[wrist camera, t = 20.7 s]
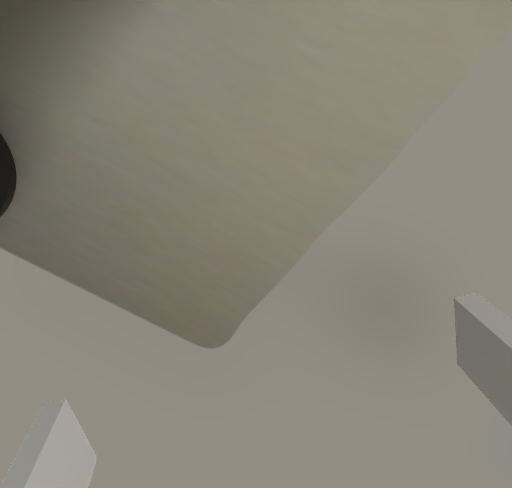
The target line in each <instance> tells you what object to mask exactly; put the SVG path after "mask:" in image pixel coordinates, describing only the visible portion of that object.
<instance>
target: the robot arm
mask: <svg viewBox="0 0 512 488" xmlns="http://www.w3.org/2000/svg"><path fill="white" fill-rule="evenodd" d="M15 188H16V169H15V164H14V160H13V157H12V154H11V152H10V149H9V147H8V145H7V143H6V142H5V140H4V138H3V137H2V135H1V134H0V216H1V215H2V214H3V213H4V212H5V211H6V209H7V208H8V207H9V205H10V203H11V201H12V199H13V196H14V192H15ZM454 308H455V327H456V346H457V364H458V365H459V366H460V367H461V369H462V370H463V371H464V372H465V373H466V374H467V375H468V377H469V378H470V379H471V380H472V381H473V382H474V383H475V385H476V386H477V387H478V388H479V389H480V390H481V391H482V393H483V394H484V395H485V396H486V397H487V398H488V399H489V401H490V402H491V403H492V404H493V405H494V406H495V407H496V408H497V410H498V411H499V412H500V413H501V414H502V415H503V416H504V418H505V419H506V420H507V421H508V422H509V423H510V424H511V425H512V320H511V319H510V318H509V317H507V316H506V315H505V314H503V313H502V312H501V311H500V310H498V309H497V308H496V307H494V306H493V305H492V304H491V303H489V302H488V301H487V300H485V299H484V298H483V297H482V296H480V295H479V294H478V293H477V292H476V293H472V294H468V295H464V296H460V297H456V298H454ZM96 460H97V456H96V455H95V453H94V451H93V449H92V447H91V445H90V443H89V441H88V440H87V438H86V436H85V434H84V432H83V430H82V428H81V427H80V425H79V423H78V421H77V419H76V417H75V415H74V414H73V412H72V410H71V408H70V406H69V404H68V402H67V401H66V399H63V400H59V401H56V402H52V403H48V404H44V405H42V407H41V409H40V411H39V413H38V415H37V417H36V419H35V420H34V422H33V424H32V426H31V428H30V430H29V432H28V434H27V436H26V438H25V439H24V441H23V443H22V445H21V447H20V449H19V451H18V453H17V455H16V456H15V459H14V460H13V462H12V464H11V466H10V468H9V470H8V472H7V474H6V476H5V477H4V480H3V481H2V483H1V485H0V488H88V487H89V484H90V480H91V477H92V474H93V470H94V467H95V464H96Z"/></svg>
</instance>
